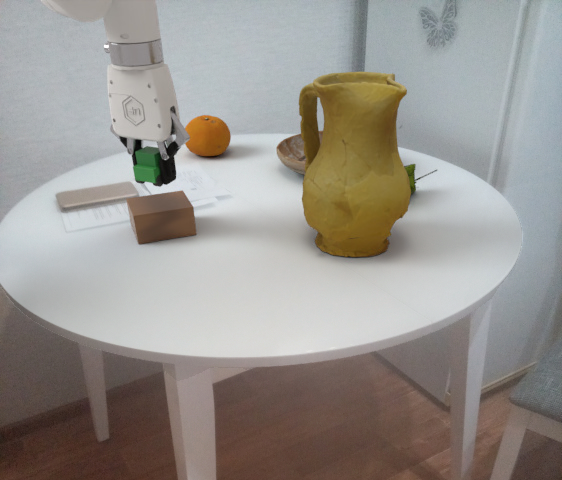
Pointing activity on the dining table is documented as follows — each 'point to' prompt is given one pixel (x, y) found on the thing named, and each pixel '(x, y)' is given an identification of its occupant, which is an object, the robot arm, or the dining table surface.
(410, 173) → the toy tank
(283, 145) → the ceramic bowl
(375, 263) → the dining table surface
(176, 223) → the wooden block
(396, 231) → the dining table surface
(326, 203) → the pitcher
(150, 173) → the toy car
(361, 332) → the dining table surface
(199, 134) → the fruit
